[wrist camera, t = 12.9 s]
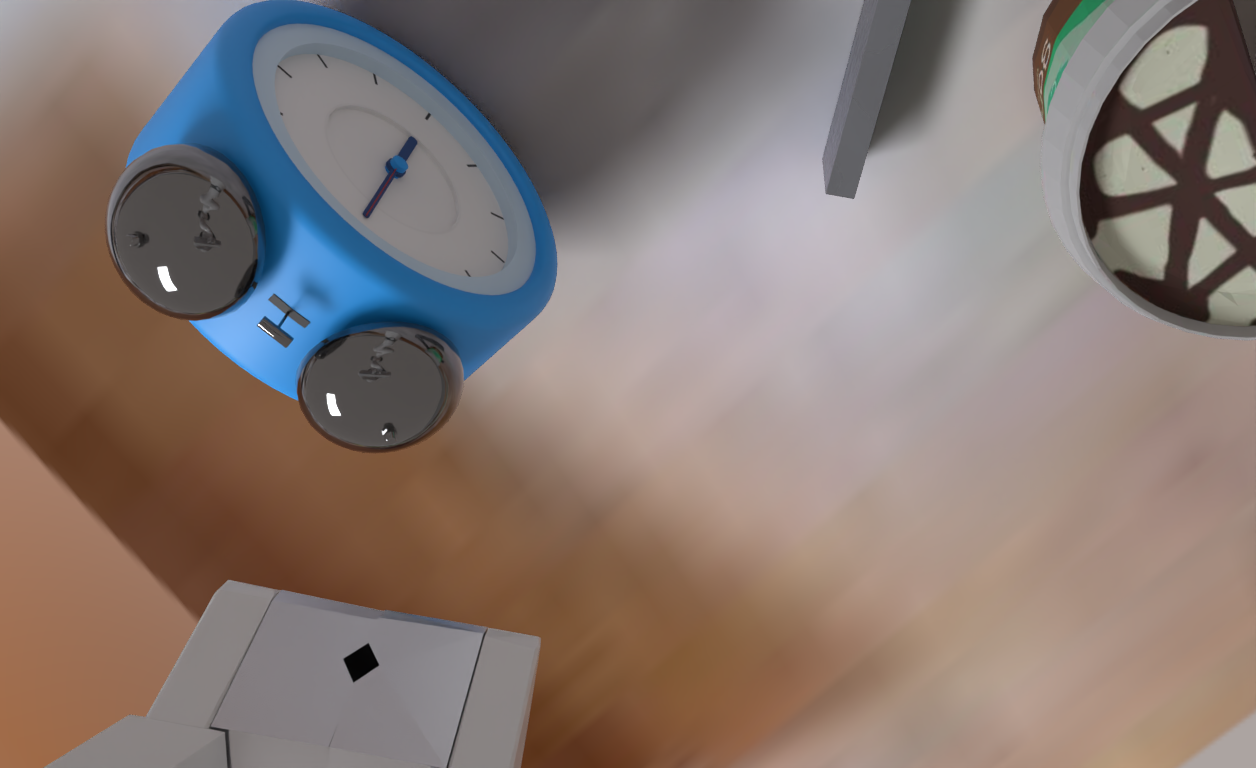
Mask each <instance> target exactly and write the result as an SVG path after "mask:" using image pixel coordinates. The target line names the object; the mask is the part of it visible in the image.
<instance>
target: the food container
mask: <svg viewBox="0 0 1256 768" xmlns="http://www.w3.org/2000/svg"><path fill="white" fill-rule="evenodd" d="M1032 59H1033V77H1034V91H1035V94H1036V97H1037V101H1038V104H1039V108H1040V111H1041V114H1042V117H1043V121H1044V124H1045V126H1044V131H1043V135H1042V146H1041V160H1040V172H1041V181H1042V190H1043V197H1044V201H1045V204H1046V207H1047V210H1048V214H1049V217H1050V220H1051V223H1052V225H1053V227H1054V229H1055V231H1056V233H1057V235H1058V236H1059V238H1060V240H1061V242H1062V244H1063V246H1064V248H1065V249H1066V250H1067V252H1068V253H1069V254H1070V255H1071V256H1072V258H1073V259H1074V260H1075V261H1076V262H1077V264H1078V265H1079V266H1080V267H1081V269H1082V270H1083V271H1085V272H1086V273H1087V274H1088V275H1089V276H1090V277H1092V278H1093V279H1094V280H1095V281H1096V282H1097V283H1098V284H1100V285H1101V286H1102V287H1103V288H1104V289H1105V290H1107V291H1108V292H1109V293H1110V294H1111V295H1113V296H1114V297H1115V298H1116V299H1117V300H1118V301H1120V302H1121V303H1122V304H1124V305H1126V306H1127V307H1129V308H1131V309H1132V310H1134V311H1136V312H1138V313H1139V314H1141V315H1143V316H1145V317H1146V318H1149V319H1152V320H1154V321H1157V322H1160V323H1162V324H1165V325H1167V326H1170V327H1173V328H1177V329H1179V330H1182V331H1185V332H1188V333H1193V334H1198V335H1203V336H1207V337H1212V338H1220V339H1234V340H1256V76H1255V73H1254V69H1253V66H1252V63H1251V59H1250V56H1249V53H1248V49H1247V46H1246V43H1245V39H1244V36H1243V33H1242V29H1241V26H1240V23H1239V19H1238V16H1237V13H1236V9H1235V6H1234V3H1233V0H1052V2H1051V3H1050V5H1049V7H1048V8H1047V10H1046V12H1045V13H1044V15H1043V19H1042V23H1041V27H1040V31H1039V35H1038V38H1037V42H1036V46H1035V50H1034V54H1033V58H1032Z"/></svg>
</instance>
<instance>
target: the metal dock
mask: <svg viewBox="0 0 1256 768" xmlns="http://www.w3.org/2000/svg"><path fill="white" fill-rule="evenodd" d="M910 3H911V0H864V4H863V7H862V11H861V15H860V19H859V23H858V26H857V30H856V34H855V38H854V41H853V45H852V49H851V53H850V57H849V60H848V64H847V68H846V72H845V75H844V79H843V83H842V87H841V91H840V94H839V98H838V102H837V106H836V109H835V113H834V117H833V121H832V125H831V128H830V132H829V136H828V140H827V144H826V147H825V151H824V155H823V159H822V160H823V170H824V181H825V191H826V194H829V195H835V196H840V197H846V198H852V199H854V198H855V194H856V191H857V187H858V184H859V180H860V177H861V173H862V170H863V166H864V163H865V159H866V156H867V152H868V149H869V145H870V142H871V138H872V135H873V131H874V128H875V125H876V121H877V118H878V114H879V111H880V107H881V104H882V100H883V97H884V93H885V90H886V86H887V83H888V79H889V76H890V72H891V69H892V65H893V62H894V58H895V55H896V52H897V48H898V45H899V41H900V38H901V34H902V31H903V27H904V24H905V20H906V17H907V13H908V10H909V6H910Z"/></svg>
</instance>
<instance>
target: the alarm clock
mask: <svg viewBox="0 0 1256 768" xmlns="http://www.w3.org/2000/svg"><path fill="white" fill-rule="evenodd" d="M105 235H106V243H107V247H108V251H109V254H110V257H111V259H112V262H113V264H114V267H115V268H116V270H117V272H118V274H119V275H120V277H121V279H122V281H123V282H124V283H125V285H126V286H127V287H128V288H129V290H130V291H131V292H132V293H133V294H134V295H135V296H136V297H137V298H139V299H140V300H141V301H142V302H143V303H145V304H146V305H148V306H149V307H151V308H152V309H154V310H156V311H157V312H159V313H162V314H164V315H167V316H170V317H174V318H177V319H180V320H189V321H190V322H191V323H192V324H193V325H194V326H195V327H196V328H197V329H198V330H199V331H200V333H201V334H202V335H203V336H204V337H206V338H207V339H208V340H209V341H210V342H211V343H212V344H213V345H214V346H215V347H217V348H218V349H219V350H220V351H221V352H222V353H224V354H225V355H226V356H227V357H229V358H230V359H231V360H232V361H234V362H235V363H236V364H237V365H239V366H240V367H242V368H243V369H244V370H246V371H247V372H249V373H250V374H251V375H253V376H254V377H256V378H257V379H259V380H261V381H262V382H264V383H266V384H267V385H269V386H271V387H272V388H274V389H276V390H278V391H280V392H282V393H284V394H285V395H287V396H289V397H291V398H293V399H296V400H298V401H299V405H300V408H301V411H302V412H303V414H304V416H305V418H306V419H307V420H308V422H309V423H310V425H311V426H312V427H313V428H314V429H315V430H316V431H317V432H318V433H319V434H320V435H322V436H323V437H324V438H326V439H327V440H329V441H331V442H332V443H334V444H336V445H338V446H341V447H344V448H347V449H350V450H353V451H357V452H362V453H389V452H396V451H400V450H404V449H407V448H410V447H413V446H415V445H418V444H420V443H421V442H423V441H425V440H427V439H428V438H430V437H431V436H432V435H434V434H435V433H436V432H438V431H439V430H440V429H441V428H442V427H443V426H444V425H445V424H446V423H447V422H448V421H449V419H450V418H451V416H452V415H453V413H454V412H455V410H456V409H457V407H458V405H459V402H460V399H461V395H462V392H463V388H464V380H466V379H467V378H468V377H469V376H470V375H471V374H472V373H473V372H475V371H476V370H477V369H478V368H479V367H480V366H481V365H483V364H484V363H485V362H486V361H487V360H488V359H489V358H490V357H492V356H493V355H494V354H495V353H496V352H497V351H498V350H499V349H501V348H502V347H503V346H504V345H505V344H506V343H507V342H509V341H510V340H511V339H512V338H513V337H514V336H515V335H516V334H518V333H519V332H520V331H521V330H522V329H523V328H524V327H525V326H527V325H528V324H529V323H530V322H531V321H532V320H533V319H535V318H536V316H537V315H538V314H539V313H540V312H541V311H542V310H543V309H544V307H545V306H546V304H547V303H548V301H549V299H550V297H551V295H552V293H553V290H554V286H555V281H556V275H557V252H556V245H555V240H554V236H553V232H552V229H551V226H550V223H549V220H548V217H547V214H546V211H545V209H544V207H543V204H542V202H541V200H540V197H539V195H538V193H537V191H536V189H535V187H534V186H533V184H532V182H531V180H530V178H529V177H528V175H527V173H526V172H525V170H524V168H523V167H522V165H521V164H520V162H519V160H518V159H517V158H516V156H515V155H514V153H513V152H512V150H511V149H510V148H509V146H508V145H507V144H506V142H505V141H504V140H503V138H502V137H501V136H500V134H499V133H498V132H497V131H496V130H495V128H494V127H493V126H492V125H491V124H490V122H489V121H488V120H487V119H486V118H485V117H484V116H483V115H482V113H481V112H480V111H479V110H478V109H477V108H476V107H475V106H474V105H473V104H472V103H471V102H470V101H469V100H468V99H467V98H466V97H465V96H464V95H463V94H462V93H461V92H460V91H459V90H458V89H457V88H456V87H455V86H454V85H453V84H452V83H450V82H449V81H448V80H447V79H446V78H445V77H444V76H442V75H441V74H440V73H439V72H438V71H436V70H435V69H434V68H433V67H432V66H430V65H429V64H428V63H427V62H425V61H424V60H423V59H421V58H420V57H419V56H417V55H416V54H415V53H413V52H412V51H410V50H409V49H408V48H406V47H405V46H403V45H402V44H400V43H399V42H397V41H396V40H394V39H392V38H391V37H389V36H387V35H386V34H384V33H382V32H381V31H379V30H377V29H375V28H373V27H372V26H370V25H368V24H366V23H364V22H362V21H360V20H358V19H355V18H353V17H351V16H348V15H346V14H344V13H341V12H338V11H335V10H332V9H330V8H327V7H324V6H320V5H316V4H313V3H308V2H303V1H297V0H269V1H264V2H258V3H254V4H251V5H249V6H246V7H244V8H242V9H241V10H239V11H237V12H236V13H235V14H233V15H232V16H231V17H230V18H229V19H228V20H227V21H226V22H225V23H224V24H223V25H222V26H221V27H220V29H219V30H218V31H217V33H216V34H215V35H214V37H213V38H212V39H211V41H210V42H209V43H208V44H207V46H206V47H205V48H204V50H203V51H202V52H201V54H200V55H199V56H198V58H197V59H196V60H195V61H194V63H193V64H192V65H191V67H190V68H189V69H188V71H187V72H186V73H185V75H184V76H183V77H182V79H181V80H180V81H179V82H178V84H177V85H176V86H175V88H174V89H173V90H172V92H171V93H170V94H169V96H168V97H167V98H166V99H165V101H164V102H163V103H162V105H161V106H160V107H159V109H158V110H157V111H156V113H155V114H154V115H153V117H152V118H151V119H150V120H149V122H148V123H147V124H146V126H145V127H144V128H143V130H142V131H141V132H140V134H139V135H138V137H137V139H136V140H135V142H134V144H133V147H132V149H131V152H130V154H129V157H128V161H127V165H126V168H125V169H124V171H123V172H122V174H121V175H120V176H119V178H118V180H117V181H116V183H115V185H114V186H113V188H112V191H111V193H110V196H109V199H108V203H107V209H106V215H105Z"/></svg>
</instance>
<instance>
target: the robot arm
mask: <svg viewBox="0 0 1256 768" xmlns="http://www.w3.org/2000/svg"><path fill="white" fill-rule="evenodd" d="M540 645H541V638H540V637H537V636H531V635H525V634H520V633H514V632H508V631H503V630H497V629H491V628H488V627H483V626H477V625H471V624H465V623H459V622H453V621H447V620H441V619H435V618H430V617H424V616H418V615H412V614H406V613H400V612H394V611H388V610H385V611H380V610H376V609H371V608H366V607H361V606H356V605H351V604H347V603H342V602H337V601H332V600H327V599H323V598H318V597H313V596H308V595H303V594H298V593H294V592H289V591H284V590H276V589H271V588H266V587H261V586H256V585H251V584H246V583H241V582H236V581H231V580H228V581H227V582H226V583H225V584H224V585H222V586H221V587H220V588H219V589H218V590H217V591H216V592H215V594H214V595H213V597H212V599H211V601H210V603H209V604H208V606H207V608H206V610H205V612H204V613H203V615H202V617H201V619H200V621H199V622H198V624H197V626H196V628H195V630H194V632H193V633H192V635H191V637H190V639H189V640H188V642H187V644H186V646H185V648H184V649H183V651H182V653H181V655H180V657H179V659H178V660H177V662H176V664H175V665H174V667H173V669H172V671H171V673H170V675H169V676H168V678H167V680H166V682H165V683H164V685H163V687H162V689H161V691H160V693H159V695H158V696H157V698H156V700H155V702H154V703H153V705H152V707H151V709H150V710H149V712H148V714H147V716H146V717H142V716H136V715H128V716H127V717H125V718H123V719H122V720H120V721H118V722H117V723H115V724H114V725H112V726H110V727H109V728H107V729H106V730H104V731H102V732H101V733H99V734H97V735H96V736H94V737H92V738H91V739H89V740H88V741H86V742H84V743H83V744H81V745H79V746H78V747H76V748H75V749H73V750H71V751H70V752H68V753H66V754H65V755H63V756H62V757H60V758H58V759H57V760H55V761H54V762H52V763H50V764H49V765H47V766H45V767H44V768H521V762H522V756H523V750H524V744H525V738H526V732H527V726H528V720H529V714H530V708H531V702H532V696H533V689H534V683H535V677H536V671H537V665H538V658H539V652H540Z"/></svg>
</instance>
